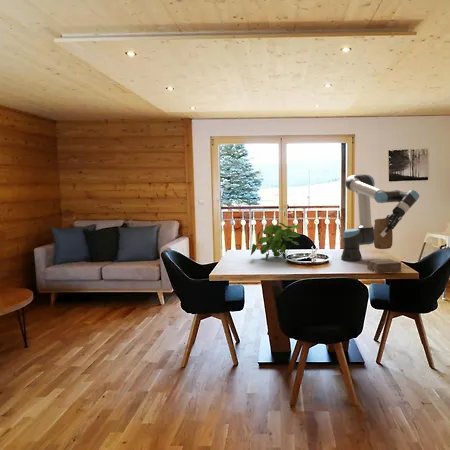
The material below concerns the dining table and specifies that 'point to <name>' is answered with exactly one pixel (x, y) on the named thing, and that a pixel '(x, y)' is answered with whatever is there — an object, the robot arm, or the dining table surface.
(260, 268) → the dining table surface
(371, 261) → the block
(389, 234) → the block
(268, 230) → the indoor plant
